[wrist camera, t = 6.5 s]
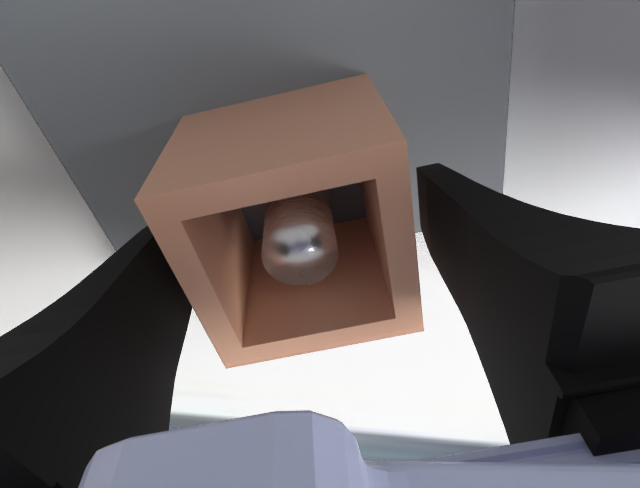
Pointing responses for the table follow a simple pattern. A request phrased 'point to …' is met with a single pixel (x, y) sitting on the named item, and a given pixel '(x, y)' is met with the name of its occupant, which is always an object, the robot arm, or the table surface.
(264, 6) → the pin plate
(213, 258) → the sleeve
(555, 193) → the table surface
